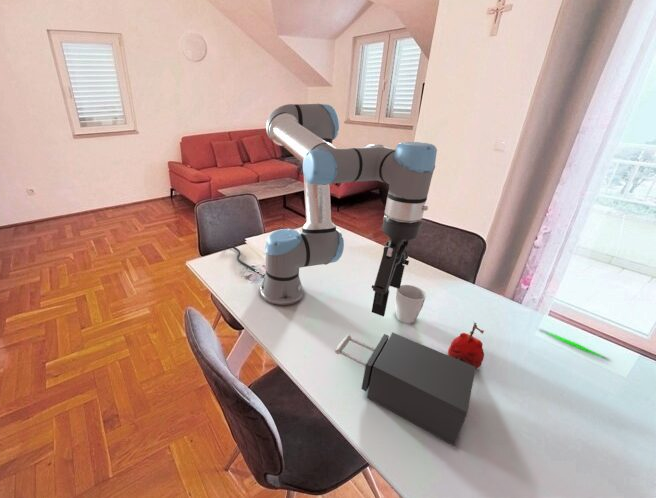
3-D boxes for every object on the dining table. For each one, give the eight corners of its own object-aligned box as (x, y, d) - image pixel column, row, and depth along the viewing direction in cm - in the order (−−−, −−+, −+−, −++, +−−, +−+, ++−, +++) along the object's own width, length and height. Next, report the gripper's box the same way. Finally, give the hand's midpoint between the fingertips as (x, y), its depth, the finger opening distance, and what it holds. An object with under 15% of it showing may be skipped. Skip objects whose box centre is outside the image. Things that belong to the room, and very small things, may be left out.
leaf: (606, 360, 84) (608, 358, 84) (540, 331, 94) (541, 329, 94) (607, 359, 84) (608, 357, 84) (541, 330, 95) (542, 328, 94)
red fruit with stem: (482, 364, 83) (500, 319, 77) (473, 379, 78) (491, 332, 72) (451, 348, 88) (465, 304, 82) (441, 361, 84) (455, 316, 78)
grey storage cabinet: (366, 397, 74) (373, 366, 70) (386, 361, 84) (392, 332, 80) (454, 446, 63) (467, 412, 59) (464, 398, 73) (476, 366, 69)
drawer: (328, 370, 80) (331, 346, 76) (348, 342, 89) (352, 319, 86) (439, 431, 65) (448, 405, 62) (450, 390, 74) (458, 365, 71)
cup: (422, 328, 96) (429, 301, 92) (394, 324, 97) (400, 298, 93) (415, 311, 103) (421, 286, 99) (389, 308, 104) (394, 283, 100)
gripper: (407, 241, 56) (387, 334, 65) (432, 205, 74) (414, 281, 83) (366, 231, 60) (352, 320, 69) (399, 200, 78) (385, 272, 87)
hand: (386, 299), depth 76 cm, fingers open, 13 cm apart
